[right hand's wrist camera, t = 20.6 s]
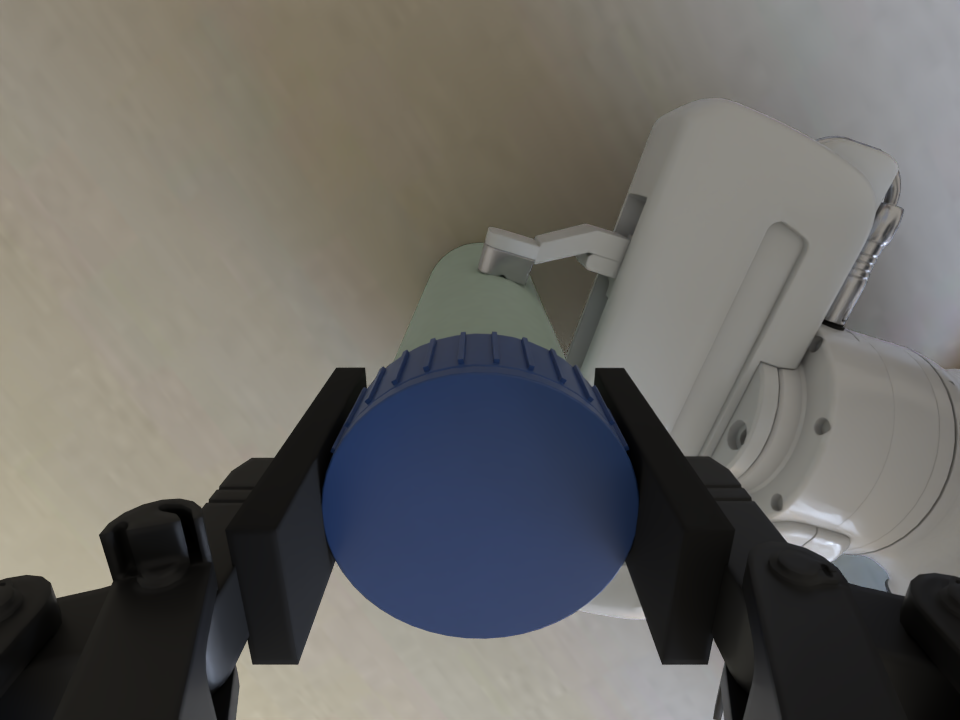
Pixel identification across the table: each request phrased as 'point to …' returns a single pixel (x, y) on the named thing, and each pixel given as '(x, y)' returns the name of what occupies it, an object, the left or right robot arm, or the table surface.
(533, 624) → the lid
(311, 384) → the table surface
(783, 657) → the right robot arm
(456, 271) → the pale green bottle
